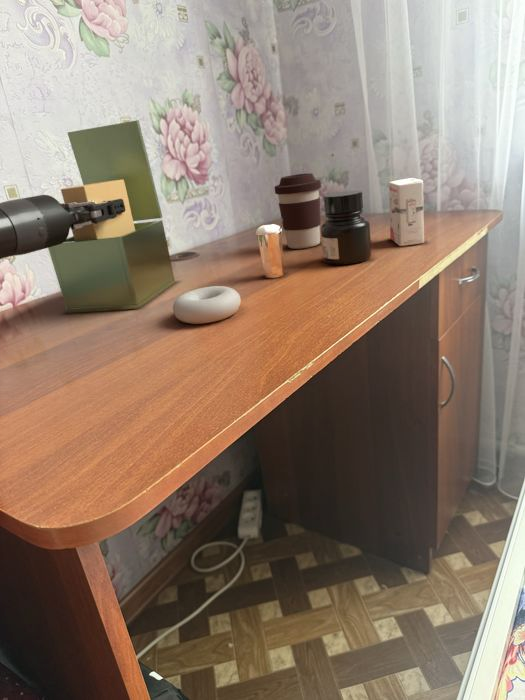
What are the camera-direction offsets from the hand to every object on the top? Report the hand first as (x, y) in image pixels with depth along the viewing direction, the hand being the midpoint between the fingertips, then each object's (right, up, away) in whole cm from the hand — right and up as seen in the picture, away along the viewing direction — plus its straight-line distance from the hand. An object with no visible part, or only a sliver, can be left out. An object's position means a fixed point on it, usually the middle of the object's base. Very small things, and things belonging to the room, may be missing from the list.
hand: (109, 206), depth 86 cm
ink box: (+56, -3, +15) cm, 58 cm away
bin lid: (0, +6, +3) cm, 7 cm away
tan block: (0, -7, 0) cm, 7 cm away
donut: (+18, -20, -12) cm, 30 cm away
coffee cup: (+36, -2, +26) cm, 44 cm away
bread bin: (+1, -15, +5) cm, 16 cm away
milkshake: (+29, -12, +4) cm, 31 cm away
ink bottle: (+42, -8, +8) cm, 44 cm away
